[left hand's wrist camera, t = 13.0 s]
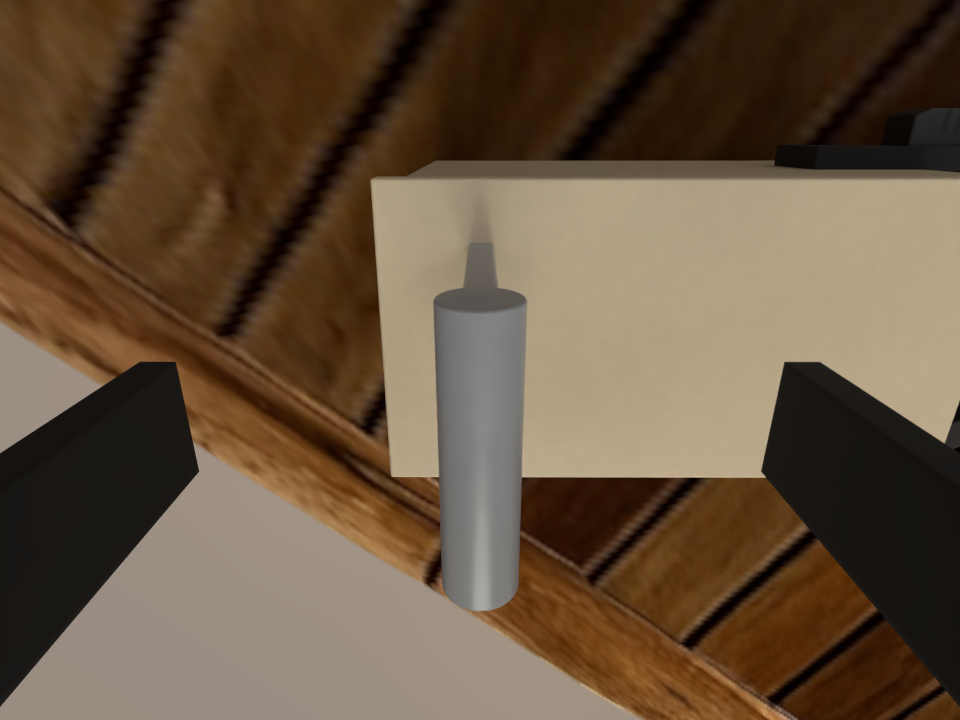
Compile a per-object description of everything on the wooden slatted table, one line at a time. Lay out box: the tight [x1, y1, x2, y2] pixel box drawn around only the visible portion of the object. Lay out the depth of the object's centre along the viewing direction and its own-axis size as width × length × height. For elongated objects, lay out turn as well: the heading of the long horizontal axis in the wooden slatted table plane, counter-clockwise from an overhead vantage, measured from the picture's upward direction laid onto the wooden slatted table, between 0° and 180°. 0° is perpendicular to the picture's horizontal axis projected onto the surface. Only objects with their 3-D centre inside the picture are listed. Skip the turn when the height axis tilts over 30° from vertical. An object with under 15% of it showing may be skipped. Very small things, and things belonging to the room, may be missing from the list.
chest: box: [408, 161, 960, 176], centre depth 22 cm, size 17×9×11 cm, turn 90°
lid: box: [371, 176, 960, 611], centre depth 14 cm, size 18×9×8 cm, turn 90°
